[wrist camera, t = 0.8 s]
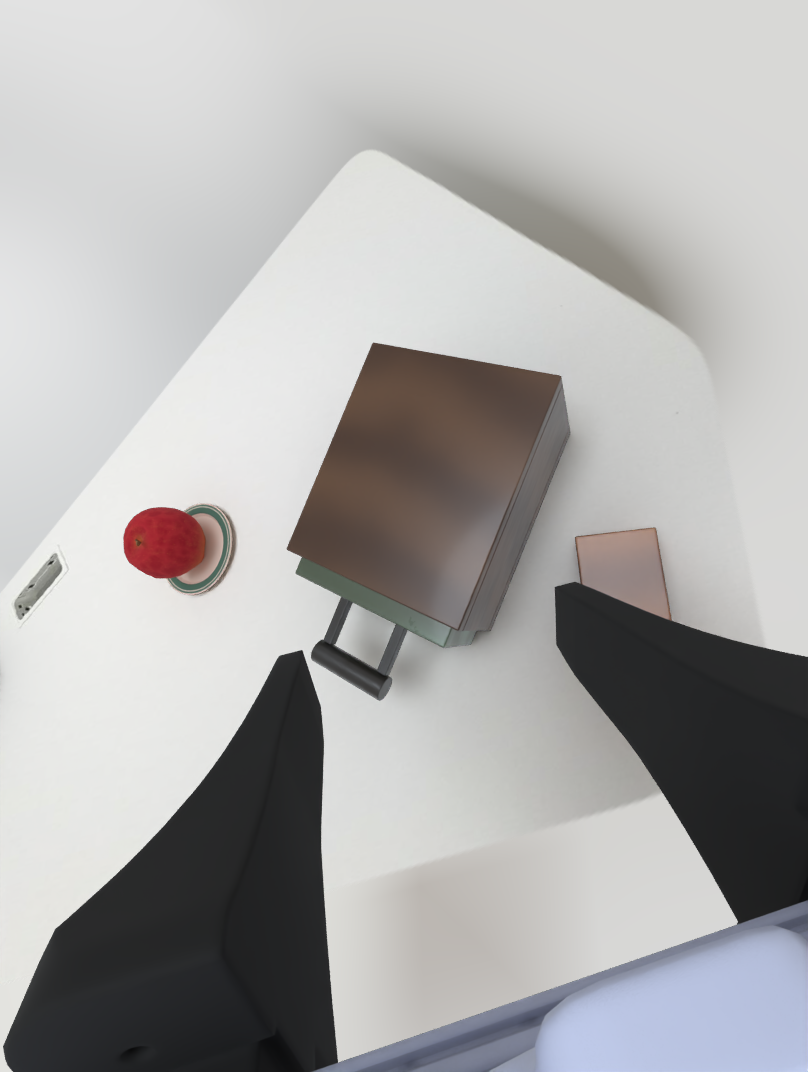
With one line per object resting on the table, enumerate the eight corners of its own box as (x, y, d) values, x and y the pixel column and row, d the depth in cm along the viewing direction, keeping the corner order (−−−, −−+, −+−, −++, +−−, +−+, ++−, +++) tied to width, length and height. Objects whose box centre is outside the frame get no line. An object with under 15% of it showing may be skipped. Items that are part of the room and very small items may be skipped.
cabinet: (490, 631, 28) (458, 631, 22) (346, 564, 33) (285, 549, 27) (570, 432, 29) (562, 375, 22) (415, 396, 34) (372, 341, 27)
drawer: (443, 713, 27) (410, 731, 23) (315, 640, 32) (265, 642, 27) (546, 458, 28) (535, 422, 23) (406, 421, 32) (372, 385, 28)
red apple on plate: (233, 591, 37) (164, 584, 31) (164, 598, 40) (89, 592, 34) (238, 498, 39) (173, 475, 33) (171, 511, 42) (101, 492, 36)
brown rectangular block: (669, 643, 24) (676, 644, 22) (590, 646, 26) (589, 647, 24) (651, 535, 26) (655, 527, 23) (576, 543, 27) (574, 536, 25)
